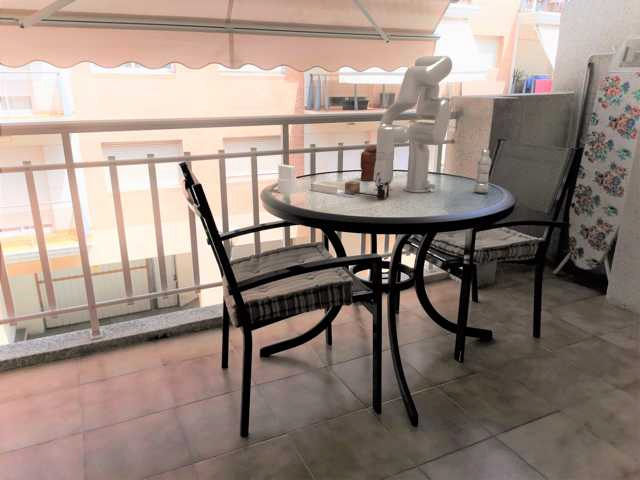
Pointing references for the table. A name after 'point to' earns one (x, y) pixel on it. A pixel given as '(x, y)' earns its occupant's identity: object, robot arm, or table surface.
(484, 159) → the plastic bottle
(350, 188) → the rod with block end
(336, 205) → the table surface
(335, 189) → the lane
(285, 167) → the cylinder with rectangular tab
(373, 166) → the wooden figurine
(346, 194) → the mat
